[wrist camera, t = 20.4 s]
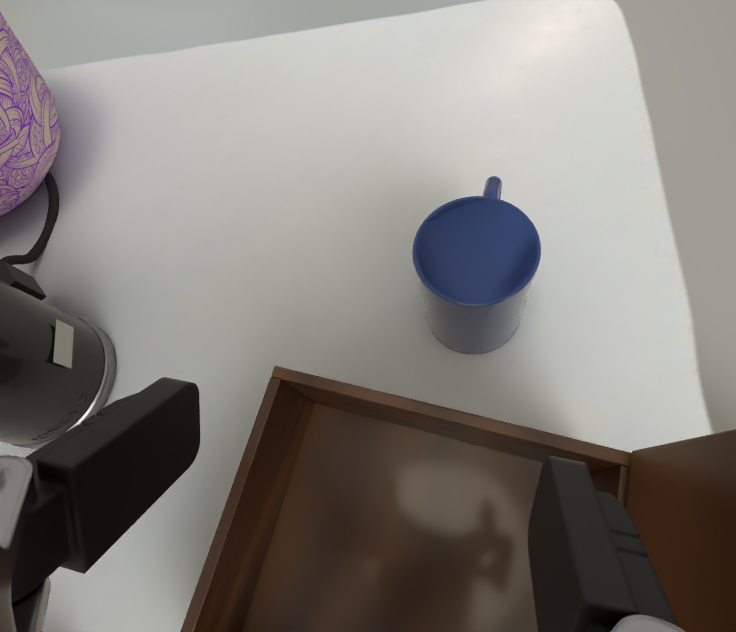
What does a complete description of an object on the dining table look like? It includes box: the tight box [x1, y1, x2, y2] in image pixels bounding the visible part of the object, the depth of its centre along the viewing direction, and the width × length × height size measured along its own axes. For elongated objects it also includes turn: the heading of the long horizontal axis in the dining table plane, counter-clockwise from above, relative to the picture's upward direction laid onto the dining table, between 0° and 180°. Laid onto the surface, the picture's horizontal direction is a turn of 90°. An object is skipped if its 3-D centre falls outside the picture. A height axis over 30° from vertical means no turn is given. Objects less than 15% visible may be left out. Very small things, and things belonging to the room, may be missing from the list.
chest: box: [181, 366, 632, 632], centre depth 23 cm, size 17×16×7 cm
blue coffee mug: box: [413, 176, 541, 354], centre depth 27 cm, size 9×6×8 cm
